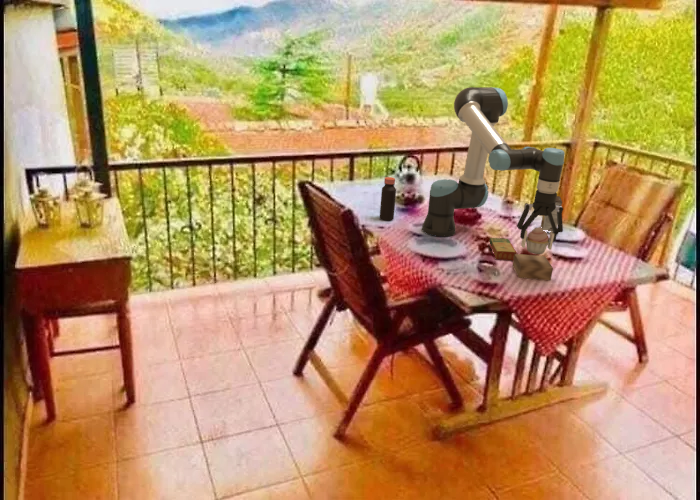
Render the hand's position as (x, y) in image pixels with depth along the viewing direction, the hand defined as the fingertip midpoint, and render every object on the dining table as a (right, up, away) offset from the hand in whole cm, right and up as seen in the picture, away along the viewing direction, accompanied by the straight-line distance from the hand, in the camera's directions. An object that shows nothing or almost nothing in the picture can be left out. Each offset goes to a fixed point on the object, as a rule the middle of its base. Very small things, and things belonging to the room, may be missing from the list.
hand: (536, 247), depth 216 cm
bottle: (-54, +14, +55) cm, 78 cm away
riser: (-1, -10, +4) cm, 11 cm away
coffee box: (+23, +8, +52) cm, 58 cm away
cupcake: (0, -2, +1) cm, 2 cm away
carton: (-7, -3, +22) cm, 24 cm away
